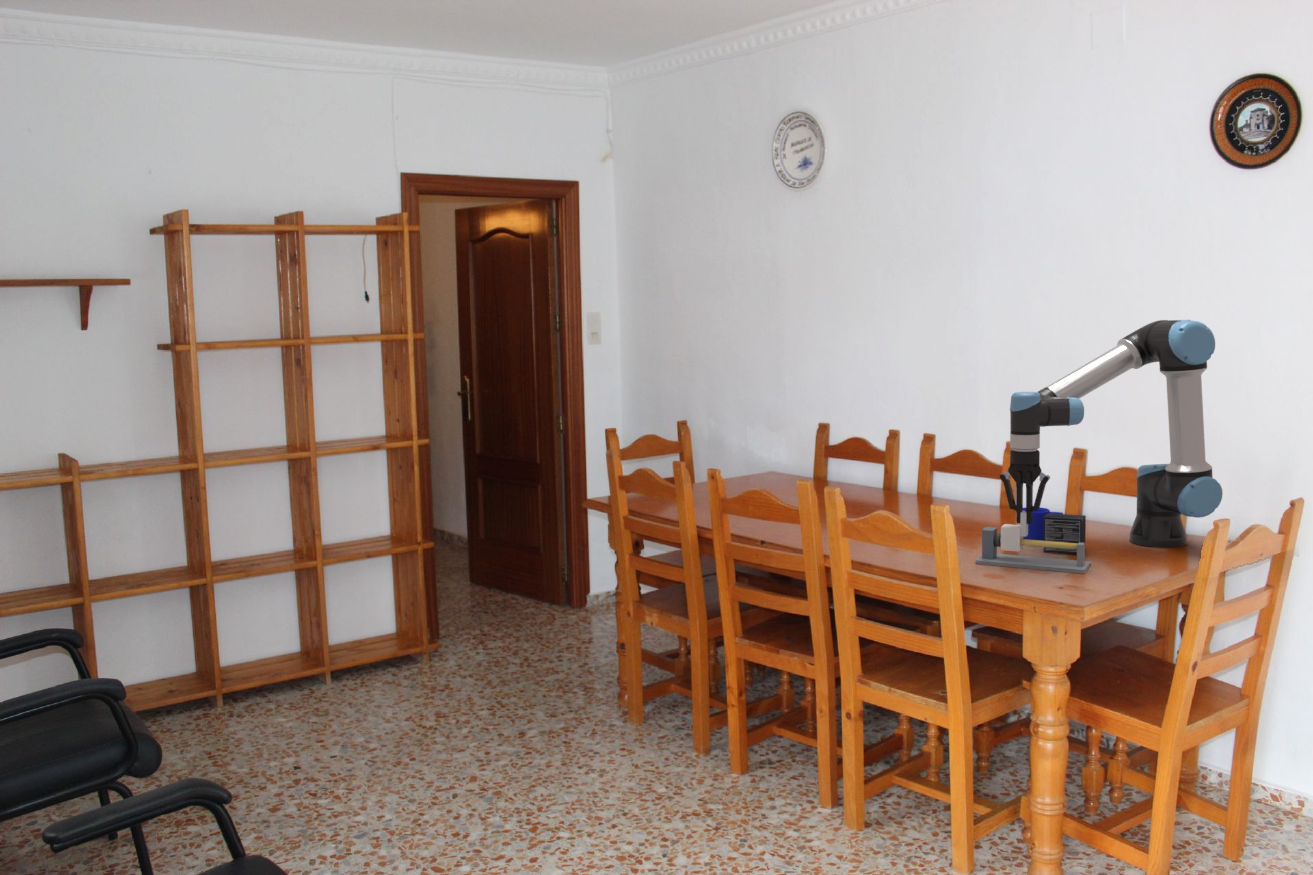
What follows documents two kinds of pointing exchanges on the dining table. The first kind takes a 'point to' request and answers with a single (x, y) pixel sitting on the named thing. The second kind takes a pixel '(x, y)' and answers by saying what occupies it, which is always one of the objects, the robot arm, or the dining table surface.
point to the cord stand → (992, 558)
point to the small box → (1064, 531)
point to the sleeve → (1011, 538)
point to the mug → (1037, 524)
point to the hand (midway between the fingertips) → (1024, 535)
